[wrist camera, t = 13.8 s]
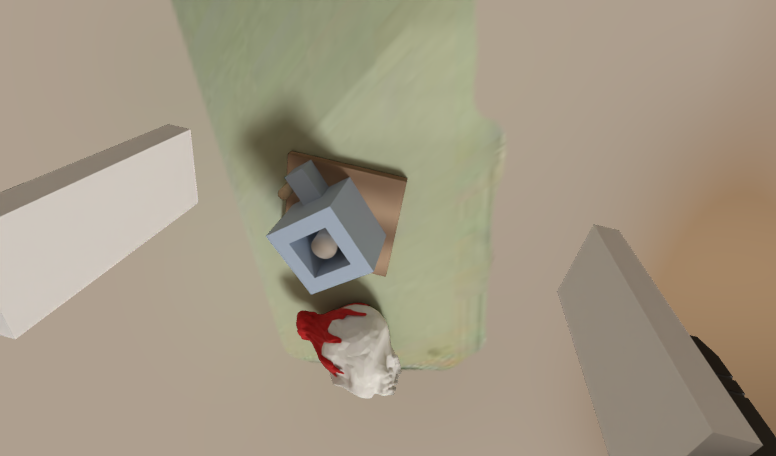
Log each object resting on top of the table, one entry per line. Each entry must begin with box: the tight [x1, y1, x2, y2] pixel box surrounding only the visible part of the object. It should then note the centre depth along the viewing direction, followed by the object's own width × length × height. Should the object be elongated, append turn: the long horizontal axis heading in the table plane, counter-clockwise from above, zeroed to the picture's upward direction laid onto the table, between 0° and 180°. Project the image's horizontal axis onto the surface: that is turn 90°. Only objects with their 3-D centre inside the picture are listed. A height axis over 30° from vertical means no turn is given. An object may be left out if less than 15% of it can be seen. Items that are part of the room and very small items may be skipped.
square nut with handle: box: [266, 160, 386, 295], centre depth 40 cm, size 12×8×7 cm
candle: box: [296, 303, 401, 398], centre depth 49 cm, size 9×11×15 cm
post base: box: [286, 151, 407, 277], centre depth 42 cm, size 13×13×7 cm
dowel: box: [278, 182, 294, 200], centre depth 41 cm, size 1×1×3 cm
